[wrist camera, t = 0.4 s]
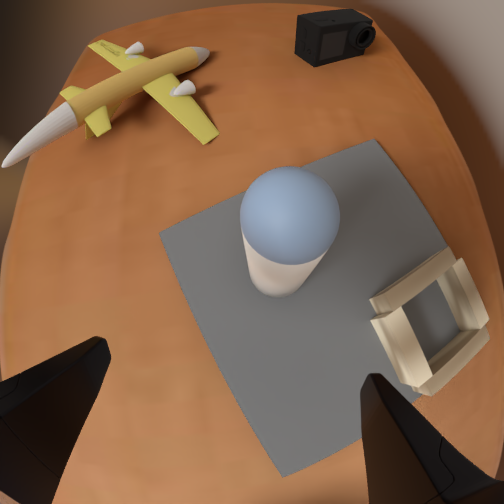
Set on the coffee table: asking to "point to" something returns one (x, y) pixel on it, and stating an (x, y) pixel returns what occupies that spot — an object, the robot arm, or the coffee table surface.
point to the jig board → (313, 308)
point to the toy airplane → (123, 97)
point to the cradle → (401, 333)
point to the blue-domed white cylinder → (287, 227)
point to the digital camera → (332, 36)
